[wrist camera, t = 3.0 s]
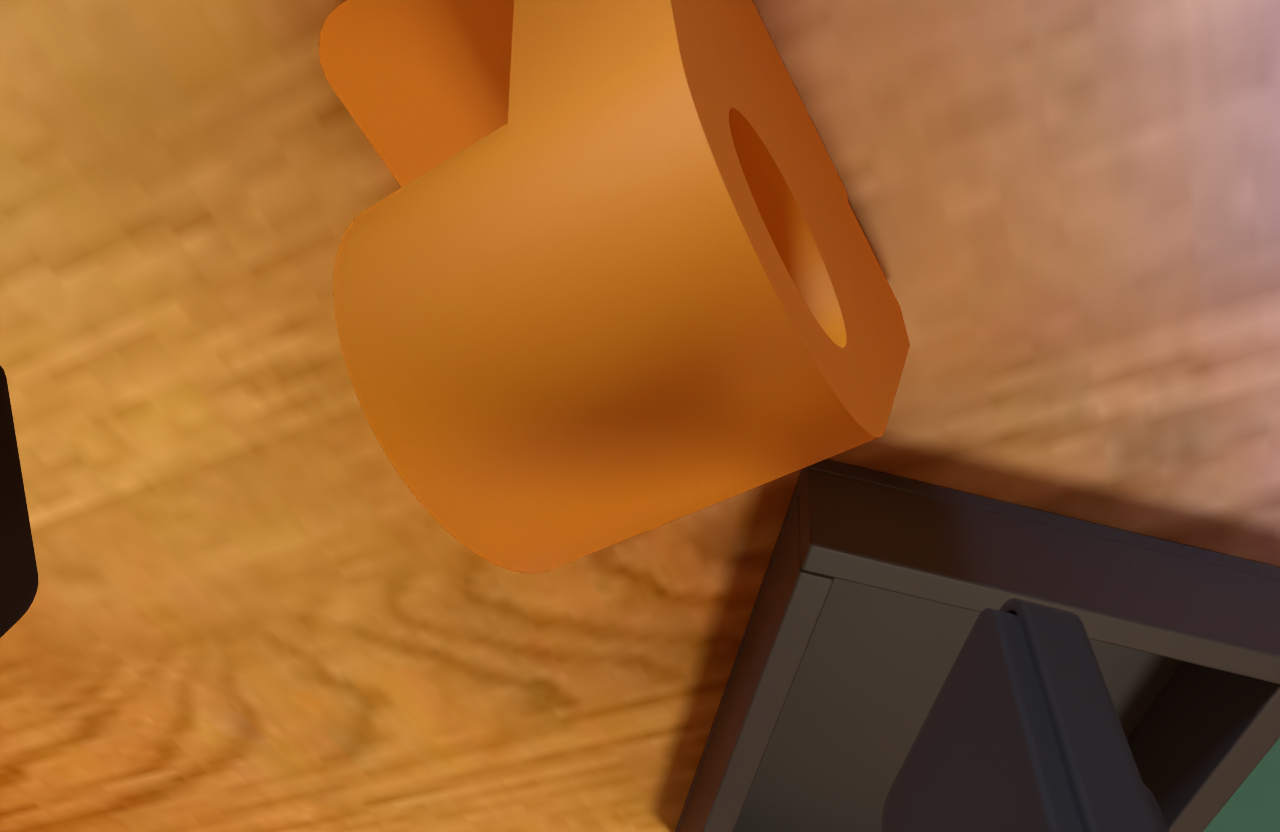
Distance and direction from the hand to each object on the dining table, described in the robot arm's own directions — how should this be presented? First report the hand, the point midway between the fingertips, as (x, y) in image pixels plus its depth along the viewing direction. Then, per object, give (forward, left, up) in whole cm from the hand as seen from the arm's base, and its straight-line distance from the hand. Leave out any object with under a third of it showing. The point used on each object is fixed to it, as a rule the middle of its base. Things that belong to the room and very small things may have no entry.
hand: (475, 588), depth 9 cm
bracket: (0, 0, -14) cm, 14 cm away
